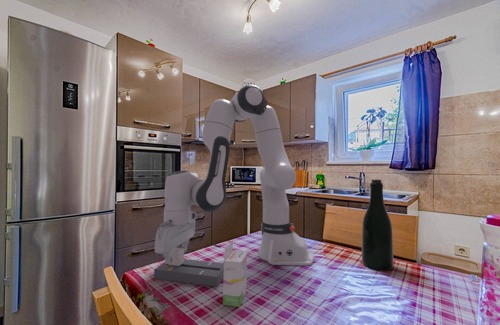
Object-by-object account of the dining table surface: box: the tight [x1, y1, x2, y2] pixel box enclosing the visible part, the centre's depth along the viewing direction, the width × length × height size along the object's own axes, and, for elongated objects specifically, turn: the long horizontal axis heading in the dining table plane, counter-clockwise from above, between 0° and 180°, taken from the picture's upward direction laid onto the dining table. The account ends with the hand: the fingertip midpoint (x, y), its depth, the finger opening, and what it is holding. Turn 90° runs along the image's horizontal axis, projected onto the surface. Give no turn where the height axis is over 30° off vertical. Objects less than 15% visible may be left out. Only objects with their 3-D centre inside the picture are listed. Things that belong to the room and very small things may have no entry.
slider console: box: [153, 258, 224, 288], centre depth 75 cm, size 22×10×3 cm, turn 78°
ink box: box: [222, 240, 248, 308], centre depth 62 cm, size 9×5×15 cm, turn 168°
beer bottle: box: [361, 178, 394, 272], centre depth 85 cm, size 10×10×33 cm
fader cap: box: [169, 246, 185, 266], centre depth 76 cm, size 4×3×6 cm
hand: (176, 257), depth 76 cm, fingers open, 8 cm apart
